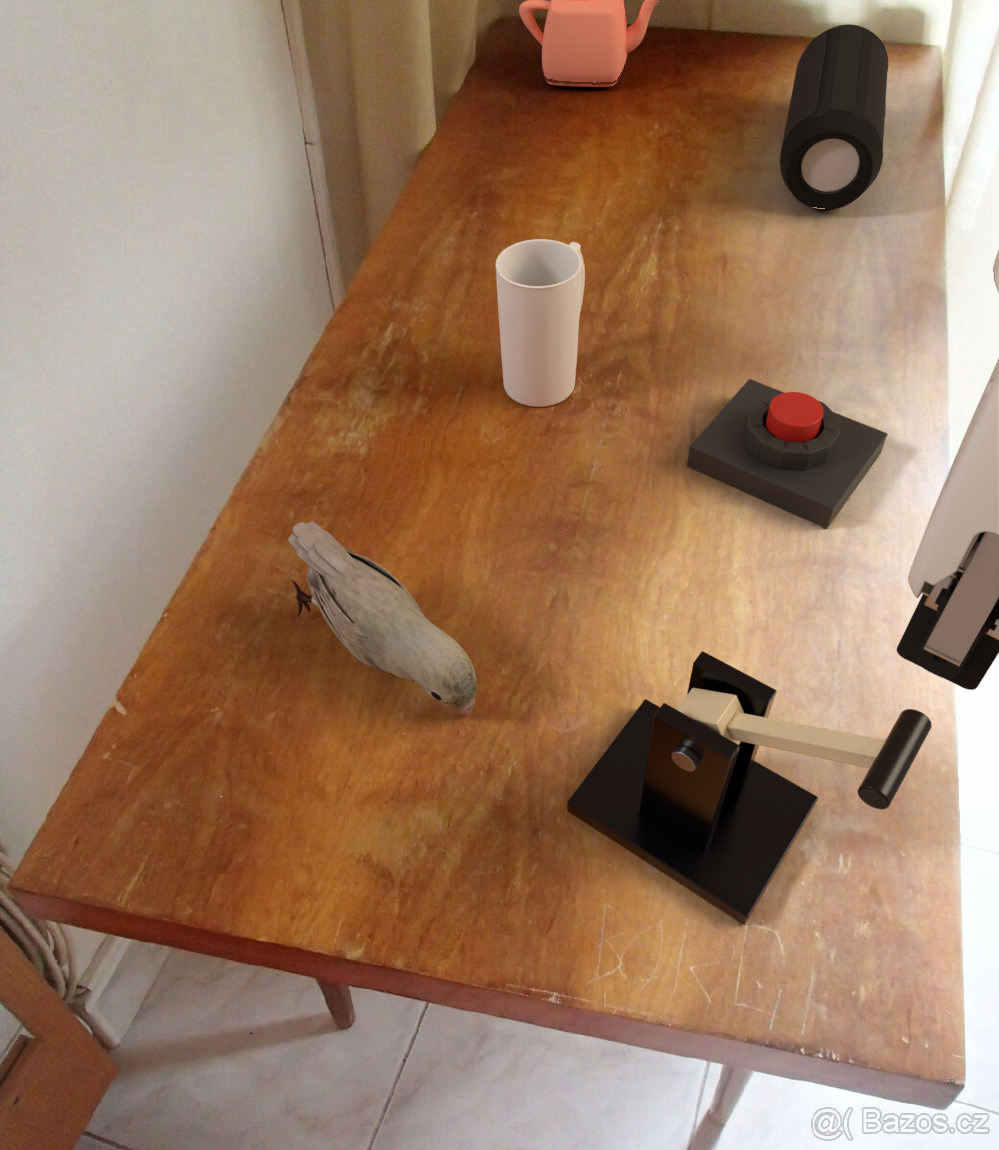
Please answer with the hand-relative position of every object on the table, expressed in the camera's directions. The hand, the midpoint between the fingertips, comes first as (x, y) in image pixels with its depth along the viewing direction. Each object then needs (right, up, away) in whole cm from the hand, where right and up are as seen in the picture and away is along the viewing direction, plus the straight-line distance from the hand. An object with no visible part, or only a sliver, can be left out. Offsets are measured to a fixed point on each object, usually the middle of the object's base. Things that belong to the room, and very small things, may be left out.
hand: (941, 658), depth 39 cm
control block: (+5, +13, +40) cm, 42 cm away
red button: (+5, +15, +37) cm, 40 cm away
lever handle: (-3, -6, +10) cm, 12 cm away
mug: (-13, +21, +48) cm, 54 cm away
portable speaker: (+19, +49, +70) cm, 88 cm away
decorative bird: (-25, -2, +29) cm, 39 cm away
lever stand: (-6, -11, +21) cm, 24 cm away
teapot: (-6, +67, +86) cm, 109 cm away
